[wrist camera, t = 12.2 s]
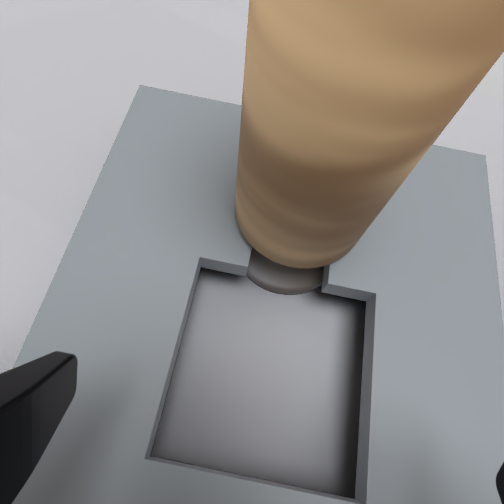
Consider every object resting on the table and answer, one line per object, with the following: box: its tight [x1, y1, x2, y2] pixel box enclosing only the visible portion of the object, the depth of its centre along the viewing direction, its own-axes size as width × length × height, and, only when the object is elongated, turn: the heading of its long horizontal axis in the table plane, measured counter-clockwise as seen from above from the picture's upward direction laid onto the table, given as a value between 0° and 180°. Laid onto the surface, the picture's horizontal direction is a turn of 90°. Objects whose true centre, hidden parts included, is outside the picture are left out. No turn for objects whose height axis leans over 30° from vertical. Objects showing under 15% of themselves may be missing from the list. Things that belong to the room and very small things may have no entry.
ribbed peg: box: [235, 0, 504, 295], centre depth 11 cm, size 5×5×14 cm
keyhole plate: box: [12, 85, 504, 504], centre depth 14 cm, size 19×16×2 cm
